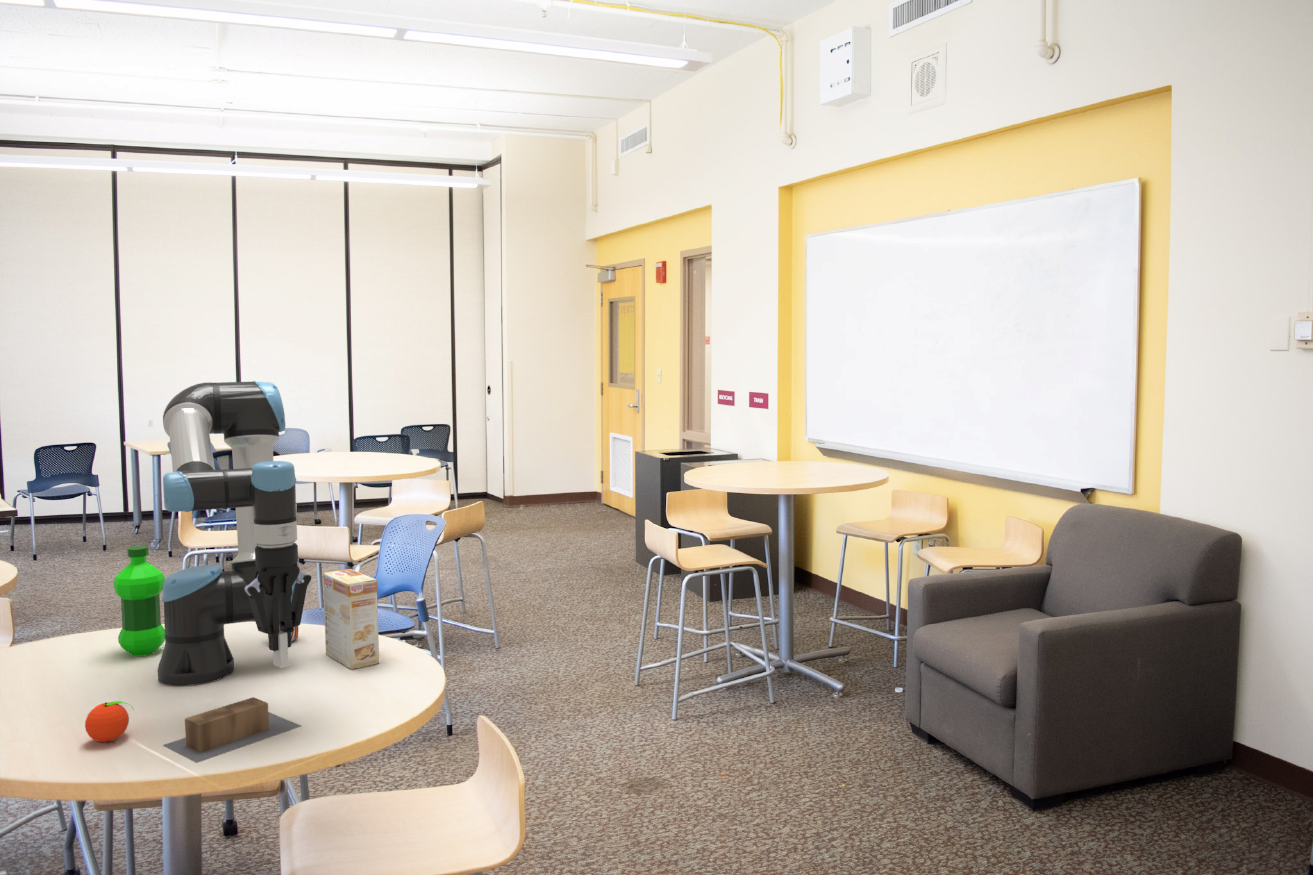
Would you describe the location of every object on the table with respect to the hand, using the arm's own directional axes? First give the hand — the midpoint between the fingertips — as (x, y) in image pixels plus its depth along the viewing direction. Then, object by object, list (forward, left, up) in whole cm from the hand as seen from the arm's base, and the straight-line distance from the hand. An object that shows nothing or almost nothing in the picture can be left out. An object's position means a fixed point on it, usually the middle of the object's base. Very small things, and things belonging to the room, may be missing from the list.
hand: (280, 665), depth 181 cm
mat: (0, -10, -11) cm, 15 cm away
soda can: (-46, +28, -11) cm, 55 cm away
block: (0, -4, -8) cm, 9 cm away
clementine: (-17, -24, -11) cm, 31 cm away
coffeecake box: (-21, +30, -11) cm, 38 cm away
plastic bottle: (-64, +3, -11) cm, 65 cm away
